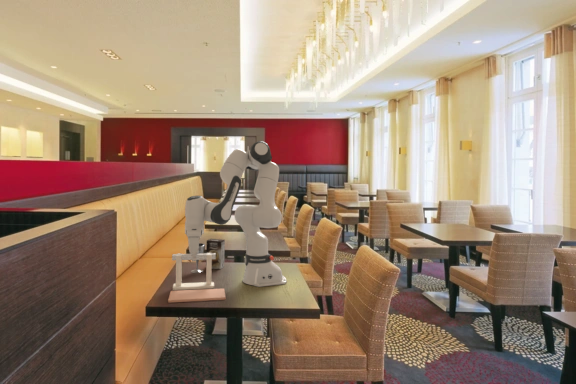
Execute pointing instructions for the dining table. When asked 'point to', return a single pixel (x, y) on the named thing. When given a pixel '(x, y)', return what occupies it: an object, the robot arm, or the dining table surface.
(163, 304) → the dining table surface
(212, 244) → the coffee box
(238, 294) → the dining table surface
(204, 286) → the cradle stand
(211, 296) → the terracotta board
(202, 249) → the wine glass
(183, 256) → the aluminium rail
